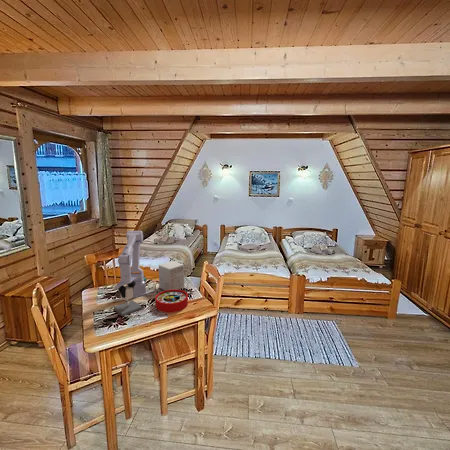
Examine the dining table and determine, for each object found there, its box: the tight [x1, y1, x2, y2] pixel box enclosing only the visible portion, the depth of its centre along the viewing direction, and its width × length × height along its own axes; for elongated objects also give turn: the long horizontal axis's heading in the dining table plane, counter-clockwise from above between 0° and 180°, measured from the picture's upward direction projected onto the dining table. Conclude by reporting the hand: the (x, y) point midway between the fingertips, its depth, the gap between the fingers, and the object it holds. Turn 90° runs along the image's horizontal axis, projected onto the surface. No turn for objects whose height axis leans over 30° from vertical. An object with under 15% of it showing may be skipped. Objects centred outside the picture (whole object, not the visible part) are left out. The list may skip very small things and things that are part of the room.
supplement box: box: [158, 260, 185, 291], centre depth 187 cm, size 13×13×18 cm
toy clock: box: [154, 289, 189, 314], centre depth 163 cm, size 20×6×20 cm
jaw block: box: [119, 285, 133, 301], centre depth 156 cm, size 5×5×6 cm
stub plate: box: [113, 300, 143, 317], centre depth 157 cm, size 12×12×5 cm
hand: (127, 295), depth 156 cm, fingers closed on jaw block, 5 cm apart
